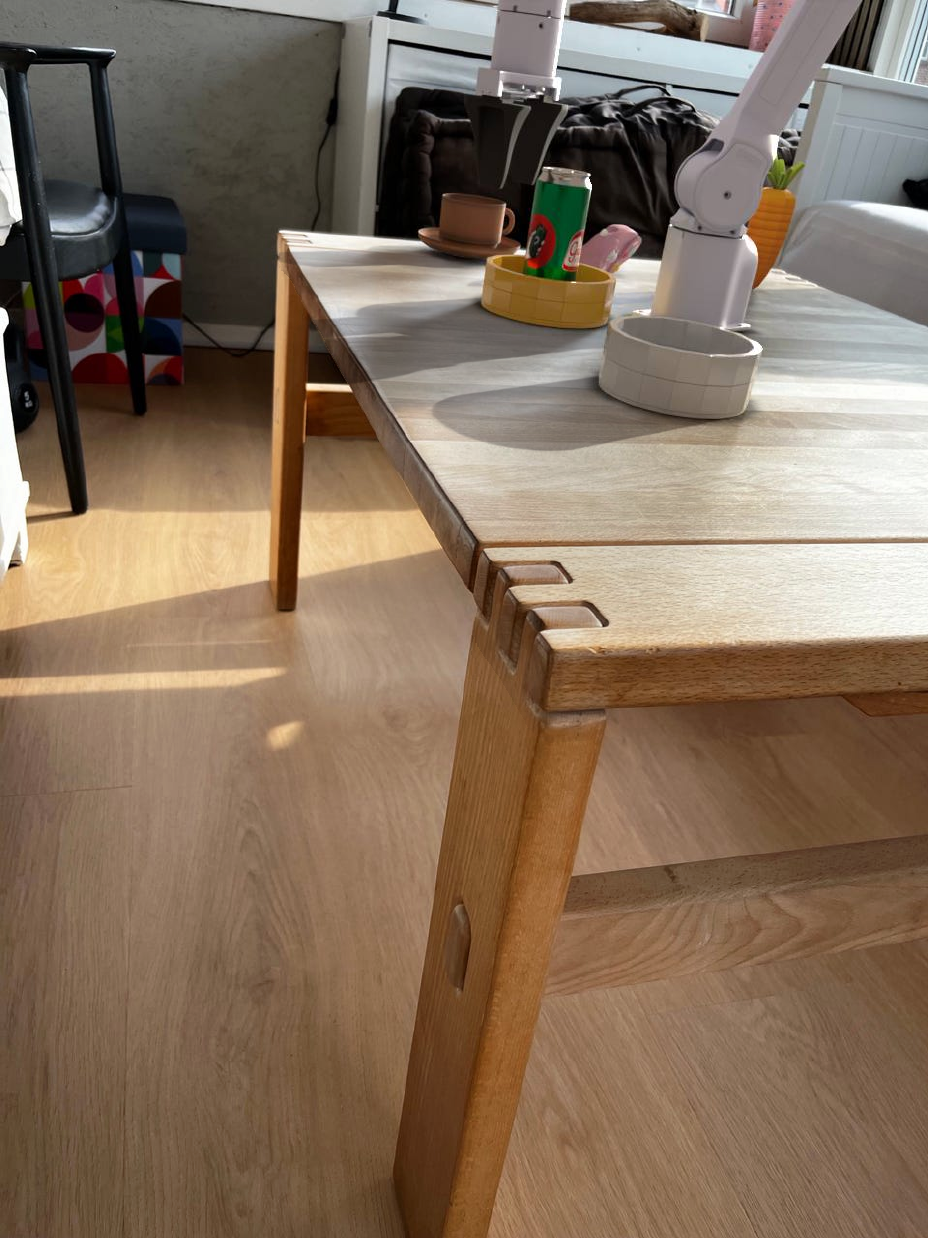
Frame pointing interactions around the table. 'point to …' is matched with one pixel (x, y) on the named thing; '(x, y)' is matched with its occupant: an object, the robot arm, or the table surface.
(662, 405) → the pot
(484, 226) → the cup and saucer
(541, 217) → the soda can
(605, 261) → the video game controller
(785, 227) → the carrot
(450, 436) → the table surface
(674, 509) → the table surface
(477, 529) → the table surface
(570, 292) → the bowl
